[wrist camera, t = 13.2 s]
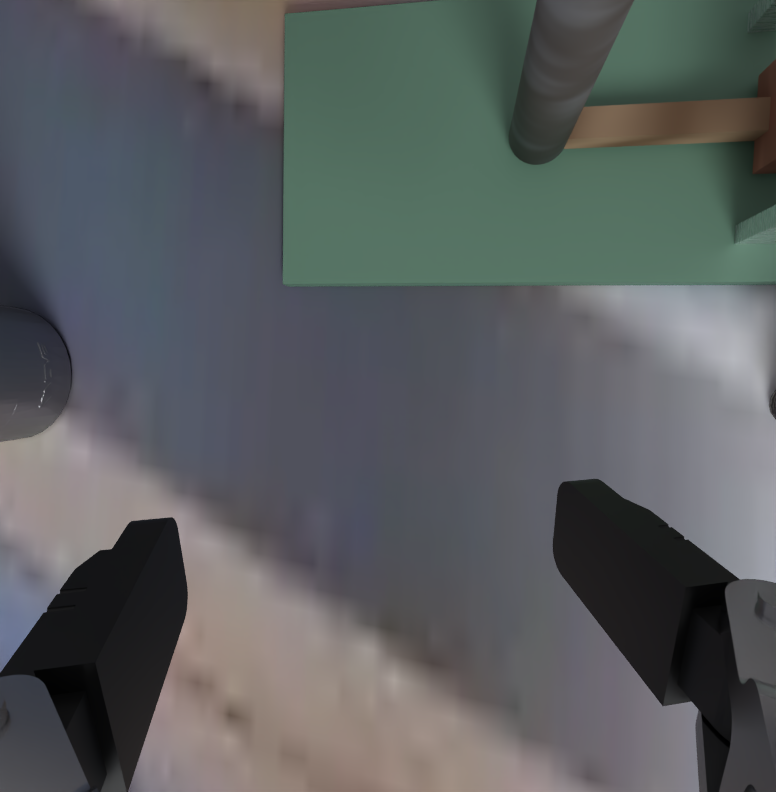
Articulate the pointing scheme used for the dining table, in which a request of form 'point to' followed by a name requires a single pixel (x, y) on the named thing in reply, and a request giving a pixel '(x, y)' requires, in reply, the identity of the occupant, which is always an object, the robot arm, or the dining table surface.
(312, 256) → the board
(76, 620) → the robot arm
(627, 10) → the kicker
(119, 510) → the dining table surface
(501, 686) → the dining table surface
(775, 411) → the lighter
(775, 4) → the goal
